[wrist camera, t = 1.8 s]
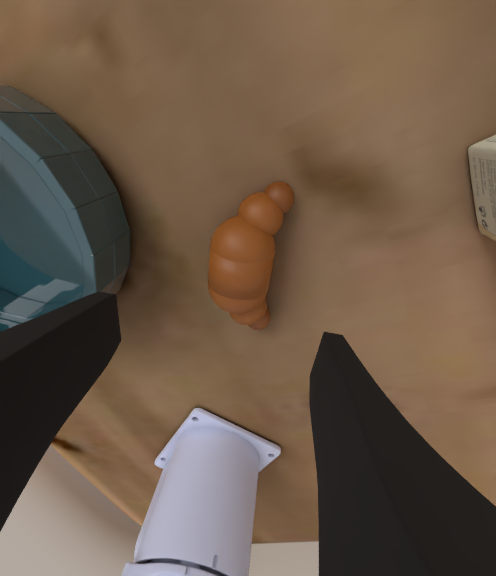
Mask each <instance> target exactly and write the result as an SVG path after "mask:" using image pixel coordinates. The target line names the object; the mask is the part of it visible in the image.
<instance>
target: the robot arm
mask: <svg viewBox="0 0 496 576" xmlns="http://www.w3.org/2000/svg"><path fill="white" fill-rule="evenodd" d="M120 342H121V334H120V326H119V317H118V308H117V300H116V294H111V293H105V292H100V291H99V292H96V293H93V294H90V295H88V296H85V297H83V298H80V299H78V300H76V301H73V302H71V303H69V304H66V305H64V306H62V307H59V308H57V309H55V310H52V311H50V312H48V313H45V314H43V315H41V316H38V317H36V318H34V319H31V320H29V321H26V322H24V323H21V324H18V325H16V326H13V327H11V328H8V329H6V330H3V331H1V332H0V531H1V529H2V527H3V526H4V524H5V522H6V520H7V518H8V516H9V515H10V513H11V511H12V509H13V507H14V505H15V503H16V502H17V500H18V498H19V496H20V495H21V493H22V491H23V489H24V488H25V486H26V484H27V482H28V481H29V479H30V477H31V475H32V474H33V472H34V470H35V468H36V467H37V465H38V463H39V462H40V460H41V459H42V457H43V455H44V454H45V452H46V450H47V449H48V447H49V446H50V444H51V442H52V441H53V439H54V437H55V436H56V434H57V433H58V431H59V430H60V428H61V427H62V426H63V424H64V423H65V421H66V420H67V419H68V417H69V416H70V415H71V413H72V412H73V411H74V409H75V408H76V407H77V405H78V404H79V403H80V401H81V400H82V399H83V397H84V396H85V395H86V393H87V392H88V391H89V389H90V388H91V387H92V385H93V384H94V383H95V381H96V380H97V379H98V377H99V376H100V375H101V373H102V372H103V370H104V369H105V368H106V366H107V365H108V363H109V361H110V360H111V358H112V356H113V355H114V353H115V351H116V349H117V347H118V345H119V343H120ZM310 413H311V423H312V432H313V441H314V450H315V459H316V468H317V480H318V511H319V576H496V506H494V505H493V504H492V503H491V502H490V501H489V500H488V499H486V498H485V497H484V496H483V495H482V494H481V493H480V492H479V491H477V490H476V489H475V488H474V487H473V486H472V485H471V484H470V483H469V482H467V481H466V480H465V479H464V478H463V477H462V476H461V475H460V474H459V473H458V472H457V471H456V470H455V469H454V468H453V467H452V466H450V465H449V464H448V463H447V462H446V461H445V460H444V459H443V458H442V457H441V456H440V455H439V454H438V453H437V452H436V451H435V450H434V449H433V448H432V447H431V446H430V445H429V444H428V443H427V442H426V441H425V440H424V438H423V437H422V436H421V435H420V434H419V433H418V432H417V431H416V430H415V429H414V428H413V427H412V426H411V425H410V424H409V422H408V421H407V420H406V419H405V418H404V417H403V416H402V414H401V413H400V412H399V411H398V410H397V408H396V407H395V406H394V405H393V404H392V402H391V401H390V400H389V399H388V398H387V396H386V395H385V394H384V393H383V391H382V390H381V389H380V387H379V386H378V385H377V384H376V382H375V381H374V379H373V378H372V377H371V375H370V374H369V373H368V371H367V370H366V369H365V367H364V366H363V364H362V363H361V361H360V360H359V359H358V357H357V356H356V354H355V353H354V351H353V350H352V348H351V347H350V345H349V344H348V342H347V341H346V340H345V338H344V337H343V335H339V334H334V333H328V332H324V333H323V336H322V339H321V343H320V346H319V349H318V352H317V355H316V358H315V361H314V364H313V367H312V371H311V374H310ZM280 453H281V448H280V447H279V446H278V445H276V444H274V443H272V442H269V441H267V440H265V439H263V438H261V437H259V436H257V435H255V434H253V433H251V432H249V431H247V430H245V429H243V428H241V427H239V426H236V425H234V424H232V423H230V422H228V421H226V420H224V419H222V418H220V417H218V416H216V415H214V414H212V413H210V412H208V411H206V410H203V409H201V408H195V409H193V411H192V412H191V413H190V415H189V416H188V417H187V418H186V420H185V421H184V422H183V424H182V425H181V426H180V428H179V429H178V430H177V432H176V433H175V434H174V435H173V437H172V438H171V439H170V441H169V442H168V443H167V445H166V446H165V447H164V449H163V450H162V451H161V452H160V454H159V455H158V456H157V458H156V460H155V462H154V463H155V465H156V466H158V467H160V468H162V469H163V471H162V474H161V477H160V479H159V482H158V485H157V487H156V490H155V493H154V495H153V498H152V501H151V504H150V506H149V509H148V512H147V514H146V517H145V520H144V523H143V525H142V528H141V531H140V533H139V536H138V539H137V543H136V547H135V555H134V563H130V562H127V563H126V565H125V567H124V570H123V572H122V575H121V576H248V574H249V564H250V553H251V544H252V533H253V523H254V513H255V502H256V492H257V482H258V472H260V471H261V470H262V469H263V468H264V467H266V466H267V465H268V464H269V463H270V462H272V461H273V460H274V459H275V458H276V457H278V456H279V455H280Z"/></svg>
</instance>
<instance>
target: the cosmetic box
mask: <svg viewBox="0 0 496 576" xmlns="http://www.w3.org/2000/svg"><path fill="white" fill-rule="evenodd" d="M468 156H469V165H470V174H471V182H472V189H473V196H474V203H475V209H476V216H477V221H478V227H479V231H480V233H481V234H483V235H485V236H487V237H489V238H491V239H492V240H494V241H496V135H494V136H491V137H489V138H487V139H485V140H482V141H480V142H478V143H475V144H473V145H471V146H470V147H469V148H468Z"/></svg>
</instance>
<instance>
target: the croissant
mask: <svg viewBox="0 0 496 576" xmlns="http://www.w3.org/2000/svg"><path fill="white" fill-rule="evenodd" d="M293 202H294V192H293V190H292V188H291V187H290V186H289V185H288V184H286V183H284V182H280V181H278V182H273V183H271V184H270V185H268V186H267V188H266V189H265V191H264V193H262V192H260V193H254V194H251V195H249V196H248V197H247V198H245V199H244V200H243V202H242V203H241V205H240V207H239V210H238V216H235V217H232V218H229V219H228V220H226V221H224V222H223V223H222V224H221V225H220V226H219V227H218V228H217V229H216V231H215V232H214V235H213V237H212V240H211V245H210V260H209V275H208V288H209V293H210V295H211V297H212V299H213V301H214V302H215V303H216V304H217V305H218V306H219V307H220V308H221V309H223V310H225V311H227V312H229V313H230V315H231V317H232V318H233V319H234V320H235V321H236V322H238V323H240V324H243V325H248V326H249V327H251V328H252V329H255V330H260V329H263V328H265V327H266V326H267V325H268V324H269V322H270V312H269V310H268V309H267V308H266V307H267V305H266V299H265V297H266V295H267V292H268V288H269V283H270V277H271V272H272V267H273V261H274V256H275V242H274V238H273V235H274V234H275V233H276V232H277V231H278V230H279V229H280V227H281V225H282V222H283V213H285V212H287V211H288V210H289V209H290V208H291V207H292V205H293Z"/></svg>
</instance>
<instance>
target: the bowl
mask: <svg viewBox="0 0 496 576" xmlns="http://www.w3.org/2000/svg"><path fill="white" fill-rule="evenodd" d="M117 191H118V190H117V188H116V187H115V185H114V183H113V182H112V180H111V179H110V177H109V175H108V174H107V172H106V170H105V169H104V167H103V165H102V164H101V162H100V161H99V159H98V157H97V156H96V154H95V152H94V151H92V149H91V148H90V147H89V146H88V145H87V144H86V143H85V142H84V141H83V140H82V139H81V138H80V137H79V136H78V135H77V134H76V133H75V132H74V131H73V130H72V129H71V128H70V127H69V126H68V125H67V124H66V123H65V122H64V121H63V120H62V119H61V118H60V117H59V116H58V115H57V114H56V113H55V112H53V111H52V110H50V109H48V108H47V107H45V106H43V105H42V104H40V103H38V102H37V101H35V100H33V99H32V98H30V97H28V96H27V95H25V94H23V93H22V92H20V91H18V90H17V89H15V88H13V87H10V86H7V85H3V84H0V332H1V331H3V330H6V329H8V328H11V327H13V326H16V325H18V324H21V323H24V322H26V321H29V320H31V319H34V318H36V317H38V316H41V315H43V314H45V313H48V312H50V311H52V310H55V309H57V308H59V307H62V306H64V305H66V304H69V303H71V302H73V301H76V300H78V299H80V298H83V297H85V296H88V295H90V294H93V293H96V292H99V291H100V292H105V293H111V294H117V293H118V292H119V290H120V288H121V285H122V283H123V280H124V278H125V275H126V273H127V270H128V268H129V264H130V231H129V230H130V229H129V225H128V222H127V219H126V216H125V212H124V209H123V206H122V203H121V199H120V196H119V193H118V192H117Z"/></svg>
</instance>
